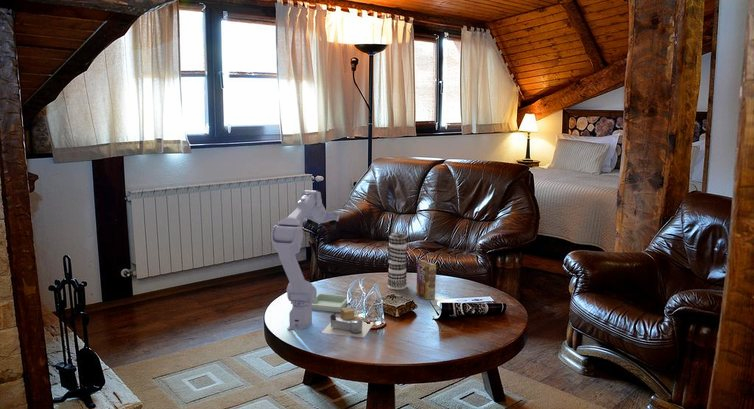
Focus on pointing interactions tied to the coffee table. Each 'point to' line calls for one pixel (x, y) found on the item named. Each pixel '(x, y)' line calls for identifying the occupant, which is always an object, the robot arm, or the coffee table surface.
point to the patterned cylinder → (397, 261)
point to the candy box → (426, 279)
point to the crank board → (337, 331)
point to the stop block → (347, 313)
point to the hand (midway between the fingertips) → (326, 226)
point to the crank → (346, 324)
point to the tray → (329, 302)
